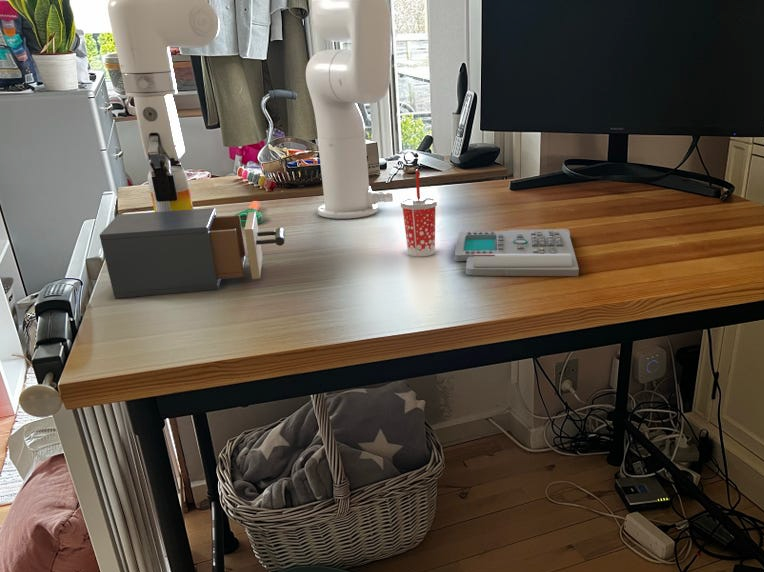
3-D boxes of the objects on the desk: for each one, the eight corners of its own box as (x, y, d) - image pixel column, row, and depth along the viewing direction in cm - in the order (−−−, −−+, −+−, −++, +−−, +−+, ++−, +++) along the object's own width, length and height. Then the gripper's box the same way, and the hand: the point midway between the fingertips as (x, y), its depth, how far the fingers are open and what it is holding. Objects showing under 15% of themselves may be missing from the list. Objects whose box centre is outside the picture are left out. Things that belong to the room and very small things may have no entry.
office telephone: (580, 261, 111) (450, 261, 112) (580, 277, 113) (451, 278, 113) (568, 221, 132) (459, 222, 133) (568, 235, 134) (459, 236, 134)
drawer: (288, 255, 122) (282, 209, 119) (288, 276, 112) (281, 226, 109) (177, 264, 119) (167, 217, 115) (166, 287, 109) (155, 235, 105)
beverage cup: (444, 249, 127) (441, 167, 121) (431, 259, 122) (426, 174, 116) (412, 246, 129) (407, 166, 123) (397, 256, 124) (392, 172, 118)
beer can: (207, 252, 128) (192, 165, 122) (192, 263, 122) (174, 172, 116) (175, 252, 128) (157, 165, 122) (157, 262, 123) (138, 172, 117)
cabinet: (224, 265, 121) (215, 207, 117) (218, 289, 110) (207, 226, 106) (130, 273, 118) (117, 214, 114) (114, 298, 107) (99, 234, 103)
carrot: (260, 225, 145) (258, 217, 144) (228, 227, 144) (227, 218, 144) (270, 208, 158) (269, 200, 158) (242, 209, 158) (241, 201, 157)
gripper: (167, 88, 107) (189, 204, 114) (182, 80, 122) (200, 183, 129) (112, 90, 105) (138, 207, 113) (134, 81, 121) (156, 186, 128)
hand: (171, 194), depth 121 cm, fingers open, 9 cm apart
